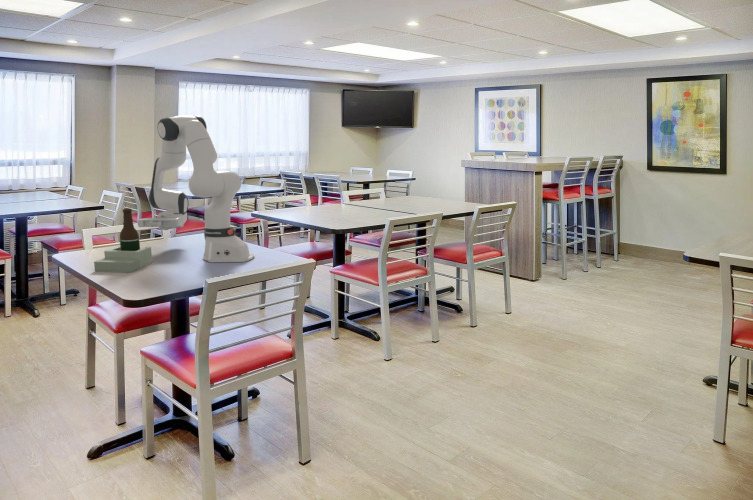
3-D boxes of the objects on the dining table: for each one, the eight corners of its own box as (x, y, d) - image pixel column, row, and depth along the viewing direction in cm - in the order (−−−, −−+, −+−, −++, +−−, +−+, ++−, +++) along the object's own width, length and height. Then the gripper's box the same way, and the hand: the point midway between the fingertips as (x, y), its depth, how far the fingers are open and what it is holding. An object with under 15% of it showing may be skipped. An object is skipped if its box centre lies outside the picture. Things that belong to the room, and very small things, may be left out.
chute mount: (153, 262, 262) (152, 247, 261) (131, 272, 244) (130, 255, 243) (118, 261, 264) (117, 246, 263) (94, 271, 247) (93, 254, 245)
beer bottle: (117, 264, 259) (113, 209, 254) (133, 261, 265) (128, 207, 260) (129, 266, 255) (125, 210, 250) (145, 263, 261) (140, 208, 257)
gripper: (145, 214, 289) (130, 218, 276) (185, 213, 286) (172, 217, 273) (146, 227, 290) (131, 231, 277) (186, 226, 288) (173, 231, 274)
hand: (152, 224), depth 275 cm, fingers closed
